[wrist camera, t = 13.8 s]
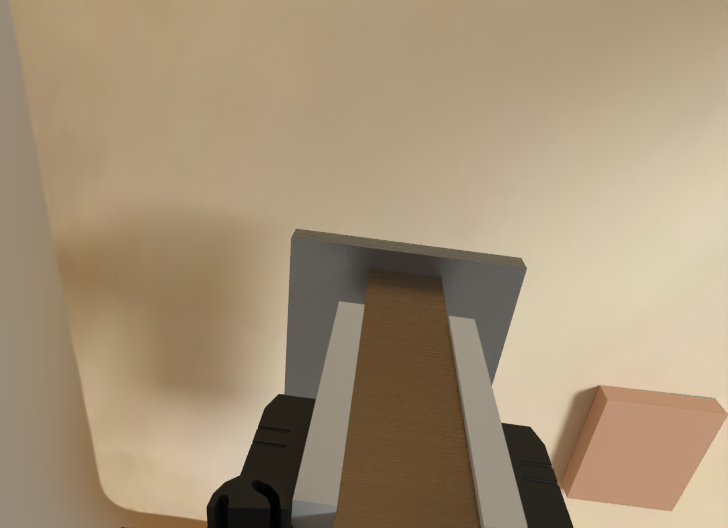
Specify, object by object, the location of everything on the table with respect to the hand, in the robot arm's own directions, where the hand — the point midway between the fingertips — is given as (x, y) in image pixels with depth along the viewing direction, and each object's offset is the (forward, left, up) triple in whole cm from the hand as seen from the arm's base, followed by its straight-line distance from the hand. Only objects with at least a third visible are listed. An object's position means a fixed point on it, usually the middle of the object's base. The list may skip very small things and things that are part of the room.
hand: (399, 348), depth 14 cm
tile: (+12, +20, -15) cm, 28 cm away
